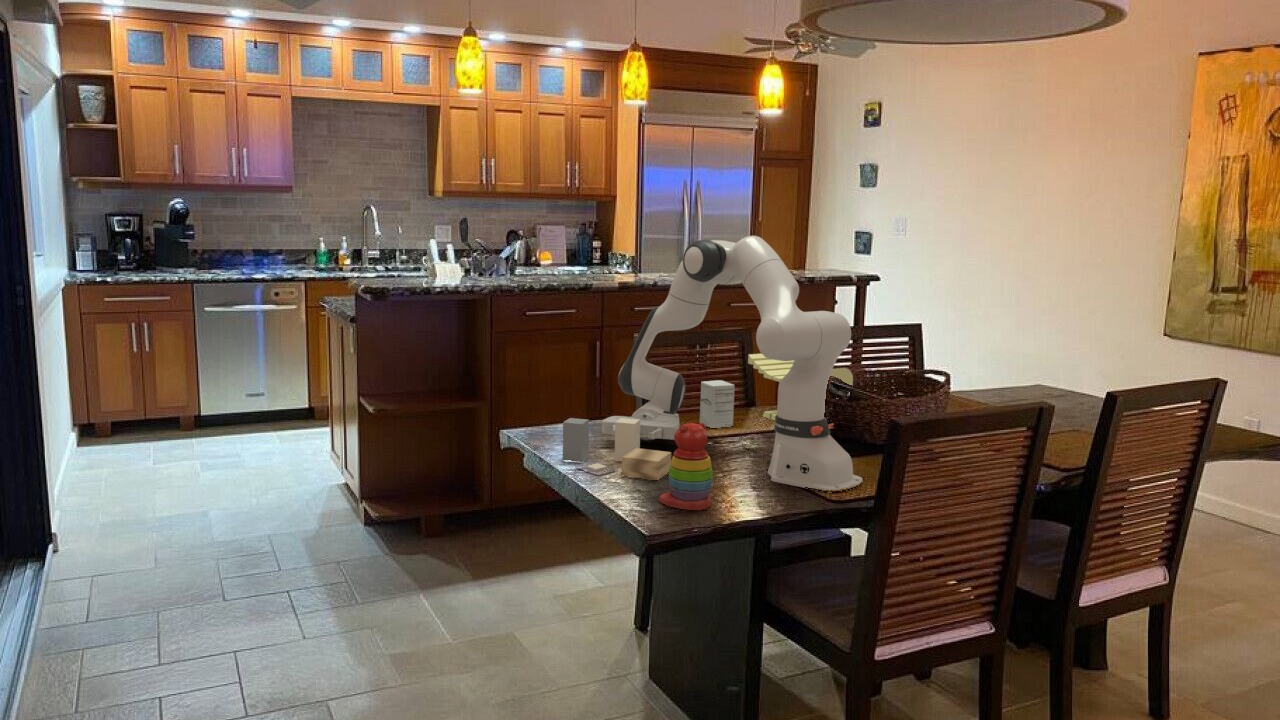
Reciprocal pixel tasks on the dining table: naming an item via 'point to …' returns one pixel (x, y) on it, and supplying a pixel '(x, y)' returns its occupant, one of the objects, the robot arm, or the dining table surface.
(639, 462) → the oak pedestal
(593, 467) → the card
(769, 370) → the slatted curved stool
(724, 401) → the supplement box
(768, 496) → the dining table surface
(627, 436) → the cream block
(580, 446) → the grey block
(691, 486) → the stacking bear
